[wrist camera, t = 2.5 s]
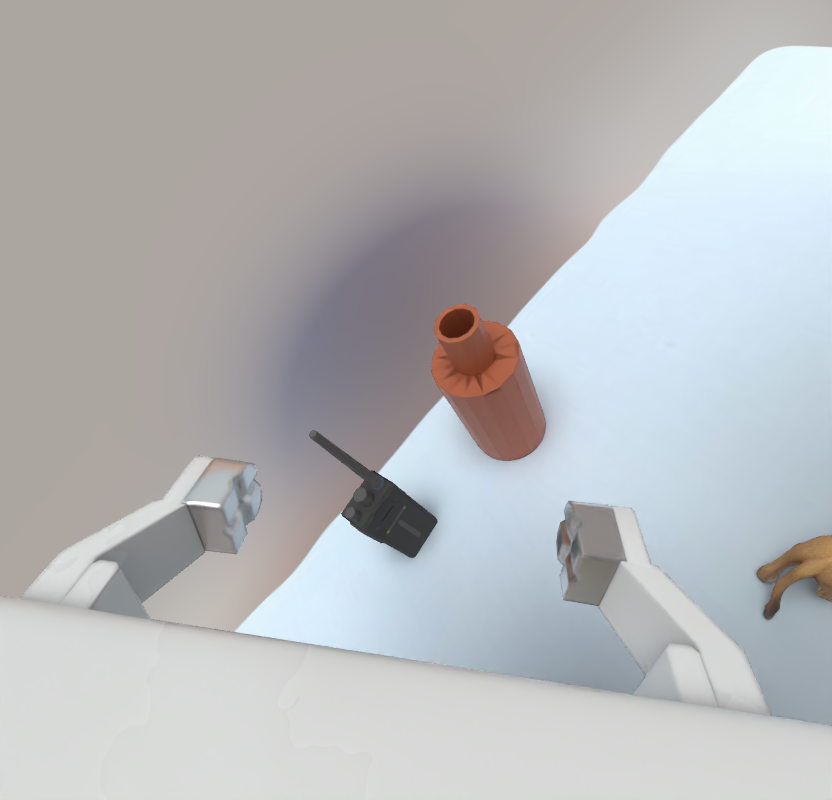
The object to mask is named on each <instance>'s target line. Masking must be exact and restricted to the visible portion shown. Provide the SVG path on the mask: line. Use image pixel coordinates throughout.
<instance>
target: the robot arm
mask: <svg viewBox="0 0 832 800" xmlns="http://www.w3.org/2000/svg"><path fill="white" fill-rule="evenodd" d="M256 475H257V470H256V466H255V464H253V463H248V462H241V461H235V460H229V459H221V458H213V457H206V456H197V457H195V458H193V459H192V461H191V462H190V463H189V464H188V466H187V467H186V468H185V470H184V471H183V473H182V474H181V475H180V476H179V478H178V479H177V480H176V482H175V483H174V484H173V486H172V487H171V488H170V489H169V491H168V492H167V493H166V495H165V496H164V497H163V499H162V500H161V501H159V500H155V501H153V502H151V503H149V504H148V505H146V506H144V507H142V508H140V509H138V510H137V511H135V512H133V513H131V514H129V515H127V516H125V517H124V518H122V519H120V520H118V521H116V522H115V523H113V524H111V525H109V526H107V527H105V528H104V529H102V530H100V531H98V532H96V533H94V534H92V535H91V536H89V537H87V538H85V539H83V540H81V541H80V542H78V543H76V544H74V545H73V546H70V547H69V548H67V549H65V550H63V551H61V552H60V553H59V554H58V555H57V556H56V557H55V559H54V560H53V561H52V562H51V563H50V564H49V565H48V566H47V568H46V569H45V570H44V571H43V572H42V573H41V574H40V576H39V577H38V578H37V579H36V580H35V581H34V582H33V583H32V585H31V586H30V587H29V588H28V589H27V590H26V591H25V593H24V594H23V595H22V596H21V597H20V598H14V597H7V596H1V595H0V800H832V725H826V724H820V723H813V722H807V721H800V720H794V719H788V718H781V717H775V716H772V715H771V713H770V711H769V708H768V706H767V704H766V701H765V699H764V696H763V694H762V692H761V689H760V687H759V685H758V682H757V680H756V677H755V675H754V673H753V670H752V668H751V665H750V663H749V661H748V658H747V656H746V654H745V652H744V651H743V650H742V649H741V648H740V647H739V646H738V645H737V644H736V643H735V642H734V641H733V640H732V639H731V638H730V637H729V636H728V635H727V634H726V633H725V632H724V631H723V630H722V629H721V628H720V627H719V626H718V625H717V624H716V623H715V622H714V621H713V620H712V619H711V618H710V617H709V616H708V615H707V614H706V613H705V612H704V611H703V610H702V609H701V608H700V607H699V606H698V605H697V604H696V603H695V602H694V601H693V600H692V599H691V598H690V597H689V596H688V595H687V594H686V593H685V592H684V591H683V590H682V589H681V588H680V587H679V586H678V585H677V584H676V583H675V582H674V581H673V580H672V579H671V578H670V577H669V576H668V575H667V574H666V573H665V572H664V571H663V570H662V569H660V568H659V567H658V566H654V565H651V561H650V558H649V555H648V552H647V549H646V546H645V543H644V539H643V536H642V533H641V530H640V527H639V524H638V520H637V517H636V514H635V511H634V510H633V509H632V508H628V507H619V506H609V505H602V504H593V503H584V502H575V501H568V503H567V504H566V507H565V510H564V513H565V520H564V521H562V522H560V525H559V529H558V533H557V542H556V543H557V558H558V560H559V562H560V563H561V564H562V565H563V567H562V570H561V573H560V582H561V589H562V597H563V600H566V601H572V602H578V603H584V604H590V605H596V606H599V607H598V608H599V609H600V611H601V612H602V614H603V615H604V617H605V618H606V620H607V621H608V622H609V624H610V625H611V627H612V628H613V630H614V631H615V632H616V634H617V635H618V637H619V638H620V640H621V641H622V642H623V644H624V645H625V647H626V648H627V650H628V651H629V653H630V654H631V655H632V657H633V658H634V660H635V661H636V663H637V664H638V665H639V667H640V668H641V670H642V671H643V673H644V674H645V678H644V679H643V681H642V682H641V683H640V685H639V686H638V687H637V689H636V690H635V692H634V693H633V694H628V693H621V692H615V691H608V690H602V689H596V688H589V687H583V686H576V685H570V684H564V683H557V682H551V681H544V680H538V679H531V678H525V677H519V676H512V675H506V674H500V673H493V672H487V671H480V670H474V669H468V668H461V667H455V666H448V665H442V664H436V663H429V662H423V661H417V660H410V659H404V658H397V657H391V656H385V655H378V654H372V653H365V652H359V651H352V650H346V649H340V648H333V647H327V646H320V645H314V644H307V643H301V642H294V641H288V640H282V639H275V638H269V637H262V636H256V635H250V634H243V633H237V632H230V631H224V630H218V629H211V628H204V627H198V626H192V625H185V624H179V623H173V622H166V621H160V620H154V619H150V617H149V615H148V613H147V612H146V610H145V609H144V607H143V605H142V603H143V602H144V601H145V600H146V599H148V598H149V597H150V596H151V595H153V594H154V593H155V592H156V591H158V590H159V589H160V588H161V587H163V586H164V585H165V584H166V583H168V582H169V581H170V580H171V579H173V578H174V577H175V576H176V575H178V574H179V573H180V572H181V571H183V570H184V569H185V568H186V567H188V566H189V565H190V564H192V563H193V562H194V561H195V560H196V559H198V558H199V557H200V556H202V555H203V554H204V553H205V551H213V552H221V553H230V554H237V552H238V550H239V549H240V547H241V545H242V543H243V541H244V539H245V537H246V535H247V529H246V525H247V524H249V523H250V522H252V521H253V520H255V517H256V516H257V514H258V512H259V509H260V505H261V501H262V490H261V485H260V484H259V483H258V482H257V481H256V480H255V479H254V478H255V477H256Z"/></svg>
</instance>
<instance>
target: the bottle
mask: <svg viewBox="0 0 832 800" xmlns="http://www.w3.org/2000/svg"><path fill="white" fill-rule="evenodd" d="M434 332H435V334H436V336H437V338H438V340H439V342H440V343H439V345H438V347H437V349H436V351H435V353H434V355H433V358H432V370H431V372H432V375H433V377H434V379H435V382H436V384H437V386H438V387H439V389H440V390H441V392H442V393H443V395H444V396H445V398H446V399H447V401H448V402H449V403H450V405H451V406H452V408H453V409H454V411H455V412H456V414H457V415H458V417H459V418H460V420H461V421H462V423H463V424H464V426H465V427H466V429H467V430H468V432H469V433H470V434H471V436H472V437H473V439H474V440H475V442H476V443H477V445H478V446H479V447H480V448H481V449H482V450H483V451H484V452H485V453H486V454H487V455H489V456H491V457H492V458H495V459H499V460H516V459H519V458H522V457H524V456H526V455H528V454H530V453H531V452H532V451H533V450H535V449H536V448H537V446H538V445H539V444H540V442H541V441H542V438H543V436H544V433H545V418H544V413H543V410H542V407H541V404H540V402H539V399H538V396H537V393H536V390H535V387H534V384H533V382H532V379H531V376H530V373H529V370H528V367H527V364H526V362H525V359H524V356H523V353H522V350H521V347H520V344H519V342H518V340H517V339H516V337H515V335H514V334H513V332H512V331H511V330H510V329H508V328H507V327H505V326H503V325H501V324H500V323H498V322H490V321H482V319H481V317H480V315H479V313H478V312H477V310H476V308H474V307H472V306H469V305H467V304H461V305H454V306H452V307H450V308H448V309H446V310H445V311H443V312H442V314H441V315H440V316H439V317H438V318H437V320H436V322H435V327H434Z"/></svg>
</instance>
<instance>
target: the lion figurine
mask: <svg viewBox="0 0 832 800" xmlns="http://www.w3.org/2000/svg"><path fill="white" fill-rule="evenodd" d="M794 565H799V566H797V567H796V568H795V569H793V570H791V571H790V572H788V573H787V574H786V575H784V576H783V577H782V578H781V579H780V580H779V581H778V582H777V583H776V584H775V586H774V589H773V592H772V595H771V600H770V602H769V603H768V604H767V605H766V606H765V611H764V616H765V618H767V619H771V618H772V617H773V616H774V615H775V613H776V612H777V611H778V610H779V608H780V600H781V596H782V594H783V592H784V590H785V589H786V588H787V587H788V586H789V585H791V584H792V583H794V582H796V581H798V580H800V579H803V578H805V577H814V578H815V579H816V581H817V583H818V584H819V585H820V586H819V587H818V589H817V590H816V594H817V595H818V596H820V597H823V598H826V599H827V600H829V601H831V602H832V536H819V537H816V538H814V539H811V540H809V541H806V542H804V543H799V544H796V545H795V546H793V547H792V548H791V549H790V550H788V551H787V552H786V553H784V554H783V555H782V556H781V557H779V558H778V559H777V560H775V561H773V562H772V563H769V564H767V565H765V566H762V567H761V568H760V569H759V570H758V571H757V575H758V577H759V578H760V579H761V580H762V581H763V582H766V583H770V582H773V581H775V580H777V579H778V577H779V574H780V573H781V572H782V571H783V570H784V569H786V568H788V567H790V566H794Z"/></svg>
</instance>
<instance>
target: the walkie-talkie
mask: <svg viewBox="0 0 832 800" xmlns="http://www.w3.org/2000/svg"><path fill="white" fill-rule="evenodd" d="M309 436H310V438H311V439H313V440H314V441H315V442H317V443H318V444H319V445H321V446H322V447H323V448H324V449H326V450H327V451H328V452H329V453H331V454H332V455H333V456H334V457H336V458H337V459H338V460H340V461H341V462H342V463H343V464H345V465H346V466H347V467H349V468H350V469H351V470H352V471H353V472H355V473H356V474H357V475H359V476H360V477H361V478H363V479H364V482H363V483H362V484H361V486H360V487H359V488H358V489H357V490H356V491H355V492H354V496H353V498H352V499H351V500H350V502H349V503H348V505H347V506H346V508H345V509H344V510H343V512H342V513H341V514H342V516H343V517H345V518H346V519H347V520H348V521H350V524H351V525H352V526H354V527H355V528H356V529H357V530H359V531H360V532H361V533H363V534H365V535H367V536H369V537H371V538H372V539H374V540H376V541H378V542H380V543H385V544H387V545H389V546H391V547H392V548H394V549H396V550H398V551H400V552H402V553H403V554H405V555H407V556H409V557H412V558H413V557H415V556H416V555H417V553H418V551H419V550H420V548H421V547H422V545H423V544H424V542H425V541H426V539H427V537H428V536H429V534H430V533H431V531H432V530H433V528H434V526H435V525H436V523H437V519H436V518H435V517H434V516H433V515H432V514H430V513H429V512H428V511H427V510H425V509H424V508H423V507H422V506H420V505H419V504H418V503H417V502H416V501H414V500H413V499H412V498H411V497H409V496H408V495H407V494H406V493H405V492H404V491H402V490H401V489H400V488H399V487H398V486H396V485H395V484H394V483H393V482H391V481H389V480H388V479H386V478H384V477H382V476H381V475H379V474H378V473H376V472H375V471H370V470H368V469H367V468H366V467H364V466H363V465H361V464H360V463H359V462H357V461H356V460H355V459H353V458H352V457H351V456H349V455H348V454H347V453H345V452H344V451H342V450H341V449H340V448H338V447H337V446H335V445H334V444H333V443H331V442H330V441H329V440H327V439H326V438H325V437H323V436H322V435H321V434H319V433H318V432H317V431H315V430H313V431H311V432H310V434H309Z"/></svg>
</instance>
